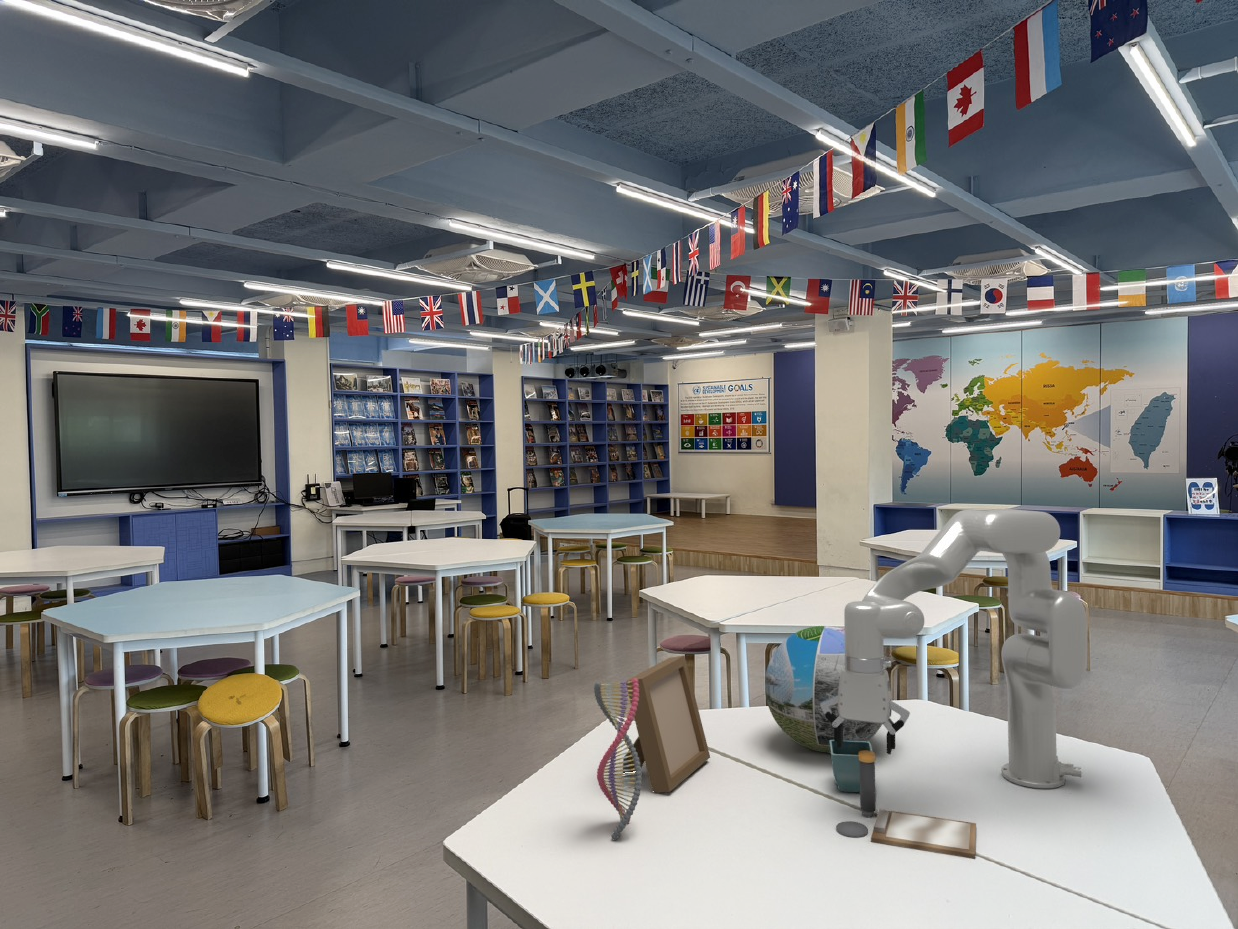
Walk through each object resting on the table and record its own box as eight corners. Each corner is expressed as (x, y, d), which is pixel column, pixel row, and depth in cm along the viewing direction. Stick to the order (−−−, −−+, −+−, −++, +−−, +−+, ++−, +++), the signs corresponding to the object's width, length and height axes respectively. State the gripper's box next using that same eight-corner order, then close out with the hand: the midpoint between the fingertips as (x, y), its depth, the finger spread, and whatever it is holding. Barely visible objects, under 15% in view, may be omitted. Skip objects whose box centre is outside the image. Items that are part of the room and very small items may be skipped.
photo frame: (710, 761, 198) (705, 657, 198) (670, 796, 179) (664, 681, 179) (655, 752, 205) (650, 652, 205) (611, 785, 186) (605, 674, 186)
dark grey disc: (870, 826, 162) (870, 824, 162) (865, 839, 157) (865, 837, 157) (838, 821, 165) (838, 819, 165) (833, 834, 159) (833, 832, 159)
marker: (877, 812, 168) (876, 751, 168) (875, 819, 165) (874, 757, 165) (861, 810, 169) (859, 749, 169) (859, 816, 167) (857, 755, 166)
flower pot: (875, 798, 175) (874, 755, 175) (832, 795, 177) (831, 754, 177) (871, 781, 184) (870, 741, 184) (830, 779, 186) (829, 739, 185)
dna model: (649, 823, 166) (644, 675, 166) (635, 844, 158) (630, 688, 157) (607, 818, 169) (602, 672, 169) (591, 838, 161) (587, 685, 160)
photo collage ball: (796, 720, 225) (793, 610, 224) (908, 741, 207) (905, 621, 207) (745, 756, 201) (741, 633, 200) (867, 782, 183) (864, 647, 183)
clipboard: (976, 827, 161) (976, 818, 160) (975, 858, 149) (974, 848, 149) (879, 813, 168) (879, 804, 168) (871, 841, 156) (870, 832, 156)
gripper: (911, 663, 167) (911, 748, 167) (823, 655, 174) (824, 737, 174) (907, 672, 160) (908, 761, 160) (816, 664, 167) (817, 749, 167)
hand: (864, 748), depth 167 cm, fingers open, 9 cm apart
